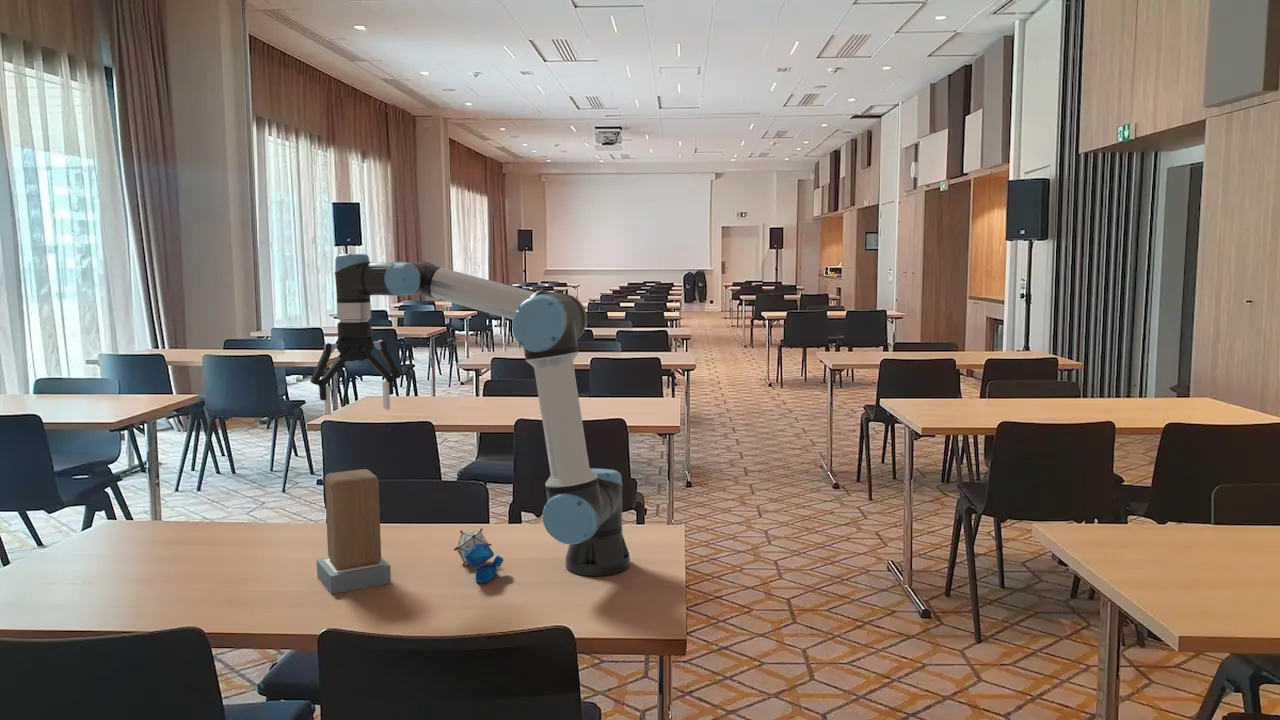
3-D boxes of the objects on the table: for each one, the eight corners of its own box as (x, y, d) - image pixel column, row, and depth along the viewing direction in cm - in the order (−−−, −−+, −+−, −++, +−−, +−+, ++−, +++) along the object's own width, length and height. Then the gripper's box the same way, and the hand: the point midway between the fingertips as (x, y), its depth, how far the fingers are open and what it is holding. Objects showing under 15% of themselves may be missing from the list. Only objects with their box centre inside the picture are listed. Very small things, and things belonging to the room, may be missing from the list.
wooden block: (336, 571, 197) (332, 481, 195) (327, 558, 206) (323, 472, 204) (382, 563, 202) (379, 476, 200) (371, 551, 211) (368, 467, 209)
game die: (477, 580, 214) (480, 555, 208) (446, 565, 215) (448, 540, 209) (495, 552, 221) (499, 527, 214) (464, 538, 222) (467, 513, 215)
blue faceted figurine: (510, 542, 209) (490, 546, 197) (508, 580, 208) (487, 586, 196) (480, 540, 211) (458, 544, 199) (477, 578, 210) (456, 584, 198)
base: (390, 582, 202) (390, 564, 202) (331, 594, 195) (330, 575, 195) (374, 566, 213) (373, 549, 213) (317, 576, 206) (316, 559, 206)
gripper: (402, 318, 219) (405, 404, 221) (294, 322, 206) (298, 414, 208) (412, 319, 213) (415, 408, 215) (301, 323, 199) (305, 418, 202)
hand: (357, 411), depth 211 cm, fingers open, 13 cm apart
